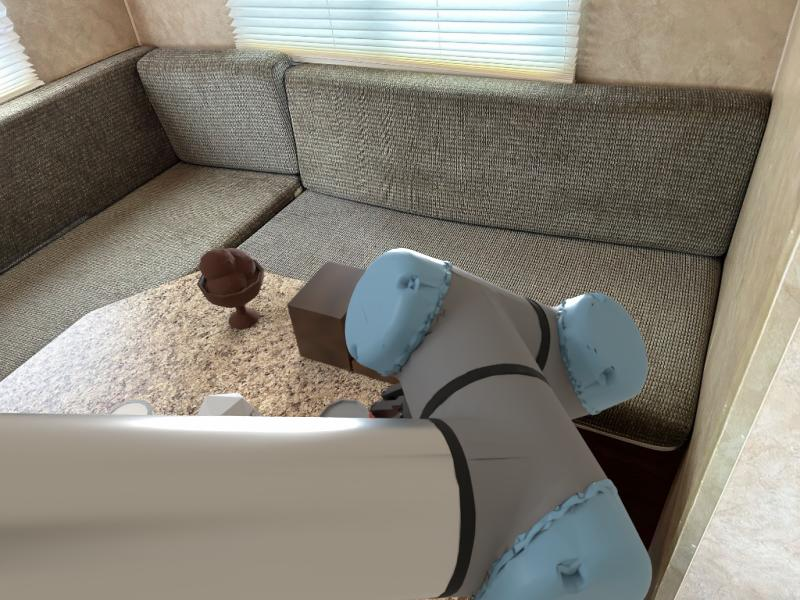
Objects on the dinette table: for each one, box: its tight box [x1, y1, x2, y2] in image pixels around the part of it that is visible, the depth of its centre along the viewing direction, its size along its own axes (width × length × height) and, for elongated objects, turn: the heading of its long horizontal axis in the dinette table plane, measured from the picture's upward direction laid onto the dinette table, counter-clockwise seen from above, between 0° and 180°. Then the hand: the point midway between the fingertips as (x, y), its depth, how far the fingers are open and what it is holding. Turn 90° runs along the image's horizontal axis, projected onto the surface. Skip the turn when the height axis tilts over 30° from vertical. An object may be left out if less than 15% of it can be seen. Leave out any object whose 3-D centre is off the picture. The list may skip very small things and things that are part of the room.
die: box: [196, 392, 265, 417], centre depth 83 cm, size 8×9×10 cm
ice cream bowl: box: [196, 247, 265, 331], centre depth 102 cm, size 11×11×15 cm
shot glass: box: [105, 398, 156, 415], centre depth 84 cm, size 7×7×7 cm
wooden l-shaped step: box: [286, 260, 400, 386], centre depth 95 cm, size 20×12×11 cm, turn 64°
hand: (325, 459), depth 66 cm, fingers closed on beverage can, 6 cm apart
